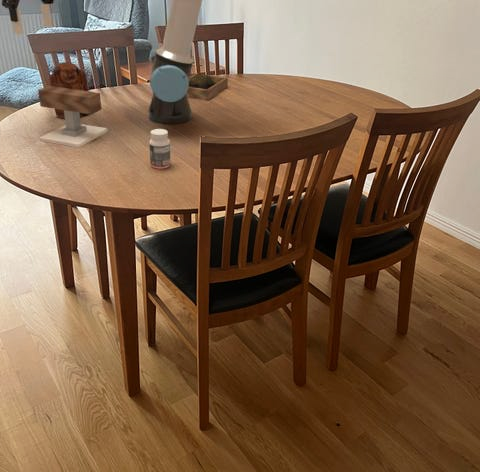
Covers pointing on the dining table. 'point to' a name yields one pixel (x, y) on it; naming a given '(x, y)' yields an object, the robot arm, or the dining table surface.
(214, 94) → the wooden tray
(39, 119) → the dining table surface
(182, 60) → the robot arm
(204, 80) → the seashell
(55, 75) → the wooden figurine
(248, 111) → the dining table surface
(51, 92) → the bar
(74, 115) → the fulcrum
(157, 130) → the pill bottle
